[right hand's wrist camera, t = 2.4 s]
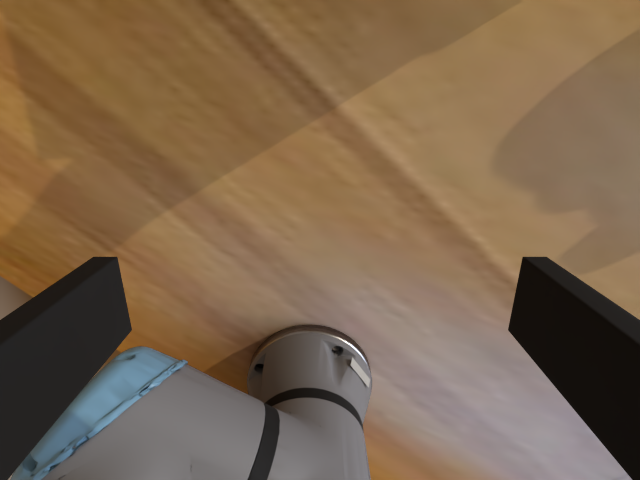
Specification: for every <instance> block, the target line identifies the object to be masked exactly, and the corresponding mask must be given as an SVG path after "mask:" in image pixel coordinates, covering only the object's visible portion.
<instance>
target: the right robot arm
mask: <svg viewBox="0 0 640 480" xmlns="http://www.w3.org/2000/svg"><path fill="white" fill-rule="evenodd" d="M131 330H132V328H131V323H130V318H129V313H128V308H127V303H126V298H125V293H124V288H123V283H122V278H121V273H120V268H119V263H118V258H117V257H93V258H91V259H90V260H88V261H87V262H85V263H84V264H82V265H81V266H79V267H78V268H76V269H75V270H74V271H72V272H71V273H69V274H68V275H66V276H65V277H63V278H62V279H60V280H59V281H57V282H56V283H54V284H53V285H51V286H50V287H48V288H47V289H45V290H44V291H43V292H41V293H40V294H38V295H37V296H35V297H34V298H32V299H31V300H29V301H28V302H26V303H25V304H23V305H22V306H20V307H19V308H17V309H16V310H15V311H13V312H12V313H10V314H9V315H7V316H6V317H4V318H3V319H1V320H0V480H8V478H9V477H10V476H11V475H12V474H13V475H12V477H11V480H371V478H370V472H369V465H368V458H367V452H366V445H365V439H364V432H363V421H364V418H365V414H366V410H367V406H368V403H369V399H370V395H371V389H372V377H371V372H370V367H369V363H368V360H367V357H366V355H365V354H364V352H363V350H362V349H361V348H360V346H359V345H358V344H357V343H356V342H355V341H354V340H352V339H351V338H350V337H348V336H347V335H345V334H344V333H342V332H340V331H337V330H335V329H332V328H329V327H325V326H319V325H300V326H294V327H290V328H286V329H284V330H281V331H279V332H277V333H275V334H274V335H272V336H270V337H269V338H268V339H267V340H265V341H264V342H263V343H262V344H261V345H260V347H259V348H258V349H257V351H256V352H255V354H254V356H253V358H252V361H251V365H250V369H249V372H248V378H247V387H248V394H246V393H244V392H241V391H239V390H237V389H235V388H233V387H231V386H229V385H227V384H225V383H223V382H221V381H219V380H217V379H215V378H213V377H211V376H209V375H207V374H205V373H203V372H201V371H199V370H197V369H195V368H193V367H191V366H189V365H187V363H188V362H187V361H186V360H177V359H175V358H173V357H170V356H168V355H166V354H163V353H161V352H159V351H156V350H154V349H151V348H148V347H143V346H140V347H133V348H130V349H128V350H126V351H124V352H122V353H121V354H119V355H118V356H116V357H115V358H114V359H113V360H111V361H110V362H109V363H108V364H107V365H106V366H105V367H104V368H103V369H102V370H101V371H99V373H97V371H98V370H99V369H100V368H101V366H102V365H103V364H104V363H105V362H106V360H107V359H108V358H109V357H110V356H111V354H112V353H113V352H114V351H115V350H116V348H117V347H118V346H119V345H120V344H121V342H122V341H123V340H124V339H125V338H126V336H127V335H128V334H129V333H130V332H131ZM508 330H509V332H510V333H511V334H512V335H513V336H514V338H515V339H516V340H517V341H518V342H519V344H520V345H521V346H522V347H523V348H524V350H525V351H526V352H527V353H528V354H529V356H530V357H531V358H532V359H533V360H534V362H535V363H536V364H537V365H538V367H539V368H540V369H541V370H542V371H543V373H544V374H545V375H546V376H547V377H548V379H549V380H550V381H551V382H552V383H553V385H554V386H555V387H556V388H557V389H558V391H559V392H560V393H561V394H562V395H563V397H564V398H565V399H566V400H567V401H568V403H569V404H570V405H571V406H572V407H573V409H574V410H575V411H576V412H577V413H578V415H579V416H580V417H581V418H582V419H583V421H584V422H585V423H586V424H587V426H588V427H589V428H590V429H591V430H592V432H593V433H594V434H595V435H596V436H597V438H598V439H599V440H600V441H601V442H602V444H603V445H604V446H605V447H606V448H607V450H608V451H609V452H610V453H611V454H612V456H613V457H614V458H615V459H616V460H617V462H618V463H619V464H620V465H621V466H622V468H623V469H624V470H625V471H626V472H627V474H628V475H629V476H630V477H631V478H632V480H640V320H639V319H637V318H636V317H634V316H633V315H631V314H630V313H628V312H627V311H625V310H624V309H623V308H621V307H620V306H618V305H617V304H615V303H614V302H612V301H611V300H609V299H608V298H606V297H605V296H603V295H602V294H600V293H599V292H597V291H596V290H595V289H593V288H592V287H590V286H589V285H587V284H586V283H584V282H583V281H581V280H580V279H578V278H577V277H575V276H574V275H572V274H571V273H569V272H568V271H566V270H565V269H564V268H562V267H561V266H559V265H558V264H556V263H555V262H553V261H552V260H550V259H549V258H547V257H523V258H522V263H521V268H520V273H519V278H518V283H517V288H516V293H515V298H514V303H513V308H512V313H511V318H510V323H509V328H508ZM96 373H97V374H96ZM95 374H96V375H95ZM94 375H95V376H94ZM93 376H94V377H93ZM92 377H93V378H92ZM89 381H90V382H89ZM88 382H89V383H88ZM87 383H88V384H87ZM14 471H15V472H14ZM13 472H14V473H13Z"/></svg>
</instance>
